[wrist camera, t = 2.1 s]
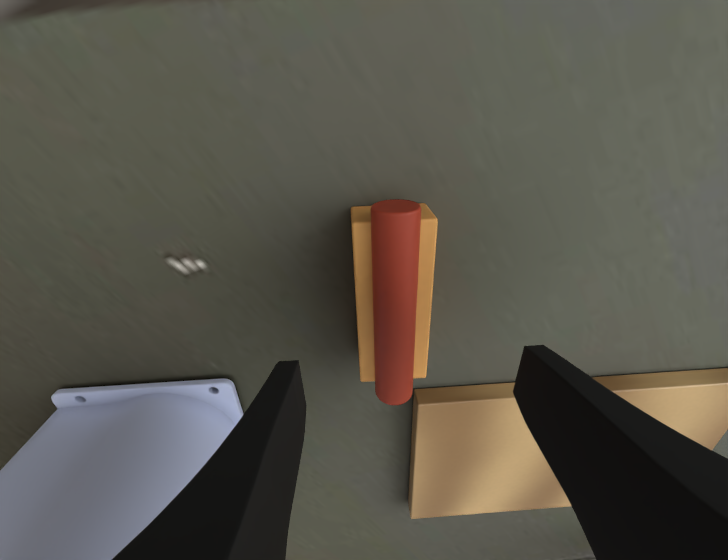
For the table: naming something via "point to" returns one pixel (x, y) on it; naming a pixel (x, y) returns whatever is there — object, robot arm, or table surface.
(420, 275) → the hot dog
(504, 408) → the oak board
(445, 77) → the table surface
